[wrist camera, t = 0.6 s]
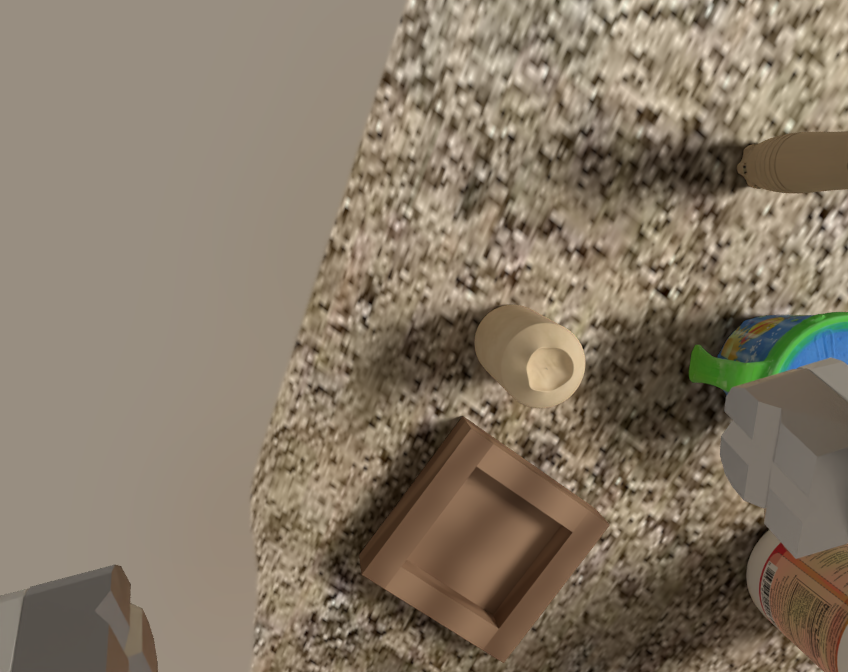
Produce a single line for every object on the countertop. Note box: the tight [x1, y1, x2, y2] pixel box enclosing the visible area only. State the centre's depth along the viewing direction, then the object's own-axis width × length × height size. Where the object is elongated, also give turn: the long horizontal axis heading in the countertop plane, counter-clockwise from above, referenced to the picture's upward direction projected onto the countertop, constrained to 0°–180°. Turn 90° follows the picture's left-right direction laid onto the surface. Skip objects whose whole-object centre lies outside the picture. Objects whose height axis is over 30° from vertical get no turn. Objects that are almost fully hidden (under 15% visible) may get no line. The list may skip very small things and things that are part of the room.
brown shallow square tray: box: [359, 416, 609, 663], centre depth 60 cm, size 13×13×3 cm
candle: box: [474, 305, 585, 408], centre depth 54 cm, size 6×6×10 cm
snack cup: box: [689, 312, 848, 395], centre depth 57 cm, size 16×10×10 cm
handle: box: [737, 131, 848, 193], centre depth 52 cm, size 5×6×15 cm
